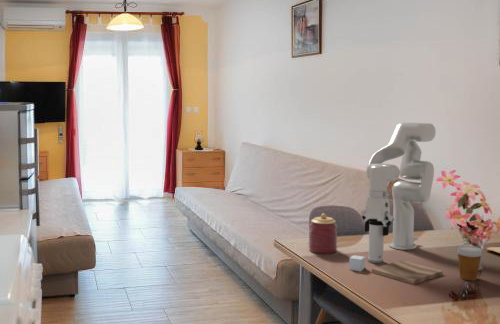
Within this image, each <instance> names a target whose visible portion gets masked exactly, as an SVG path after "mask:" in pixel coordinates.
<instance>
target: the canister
mask: <svg viewBox="0 0 500 324" xmlns="http://www.w3.org/2000/svg"><path fill="white" fill-rule="evenodd" d="M308 226H309V228H310V231H309V232H308V233H309V242H308V243H309V244H308V248H309V252H311V253H313V254H318V255H319V254H321V255H326V254H327V255H328V254H329V255H330V254H334V253H336V252H337V249H338V245H337V244H338V243H337V242H338V232H337V228H338V225H337V224H336V220H335V219H334V218H333V217H329V216H327V214H326V213H321V215H320V216H315V217H314V218H312V219H311V223H310V224H309V225H308Z"/></svg>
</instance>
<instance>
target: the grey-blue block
mask: <svg viewBox="0 0 500 324" xmlns="http://www.w3.org/2000/svg"><path fill="white" fill-rule="evenodd" d="M348 263H349V265H348V267H349V269H348V270H350V271H357V272H362V271H363V270H365V269H364V268H366V256H361V255H351V256H350V257H349V262H348Z"/></svg>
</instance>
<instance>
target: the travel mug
mask: <svg viewBox="0 0 500 324" xmlns="http://www.w3.org/2000/svg"><path fill="white" fill-rule="evenodd" d="M383 227H384V225H383V223H382V222H380V221H377V219H370V223H369V231H368V257H367V258H368V262H369V263H371V264H382V263H384V243H385V242H384V237H385V236H383Z"/></svg>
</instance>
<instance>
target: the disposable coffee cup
mask: <svg viewBox="0 0 500 324" xmlns="http://www.w3.org/2000/svg"><path fill="white" fill-rule="evenodd" d="M456 252H457V255H458V256H457V257H458V271H459V278H460V279H462V280H465V281H476V280H477V279H478V274H479V273H478V272H479V268H480V263H481V258H482V255H483V251H482V249H481V248H480V247H477V246H473V247H472V246H471V245H461V246H458V248H457V250H456Z"/></svg>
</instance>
